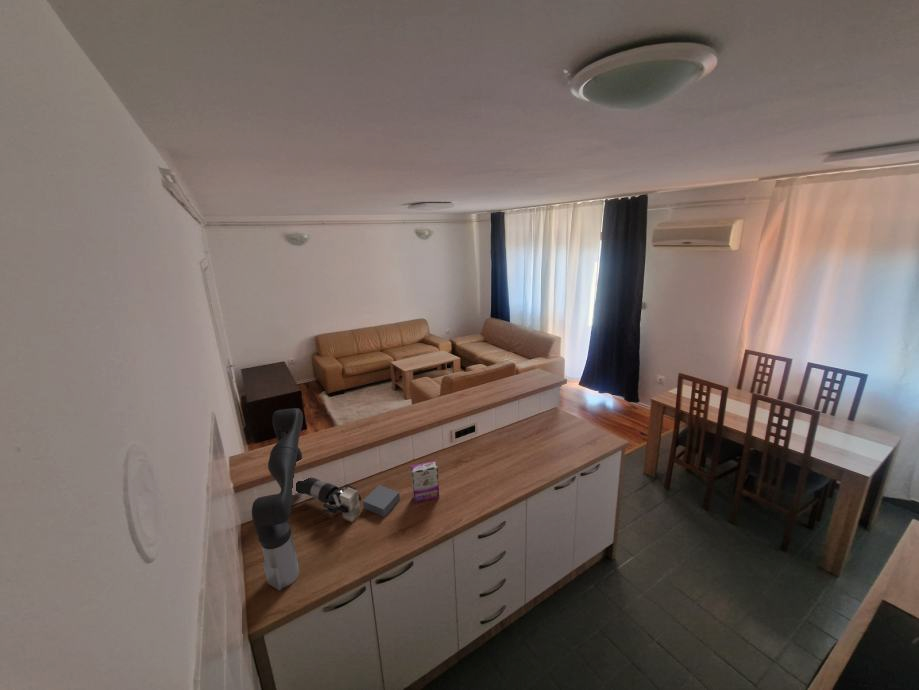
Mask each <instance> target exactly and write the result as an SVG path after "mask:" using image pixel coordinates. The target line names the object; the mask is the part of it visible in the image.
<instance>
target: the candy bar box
mask: <svg viewBox="0 0 919 690" xmlns="http://www.w3.org/2000/svg"><path fill="white" fill-rule="evenodd" d="M410 469H411V470H410V472H411V483H412V495H413V502H414V504H417V503H422V502H426V501H427V502H428V501H432V500H435V499H439V498H440V487H439V469H438V464H437V462H436V460H435V461H429V462H423V463H418V464H413V465H410Z"/></svg>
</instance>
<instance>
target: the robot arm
mask: <svg viewBox="0 0 919 690" xmlns="http://www.w3.org/2000/svg"><path fill="white" fill-rule="evenodd" d="M303 420H304V414H303V411H302V410H301V409H300V408H297V407H293V408H285V409H283V408H282V409H277V410H275V411H274V412H273V414H272V426H273V430H274V433H275V437H276V438H277V441H278V442H276V443H275V445H273V447H272V448H271V450H270V454H269V459H268V464H267V468H268V472H269V473H270V475H271V476H272V478H274V480H275V481H276V483H277V484H278V486H279V488H280V492H279V493H275V494H269V495H264V496H260V497H257V498H256V499H255V500H254V501H253V502H252V506H251V517H252V518H251V519H252V522H253V526H254V529H255V531H256V534H257V538H258V541H259V542H260V545H261V549H262V554H263V557H264V561H263V562H262V565H263V570H264V573H265V578H266V582H267V585H270V586H271V587H273V588H274V589H276V590H277V591H282V590H283V589H284V588H286V587H289V586H290V585H292V584H293V583H295V581H296V580H297V579H298V577H299V575H300V566H299V562H298V557H297V552H296V548H295V547H296V546H295V543H294V538H293V537H294V536H293V533H292V529H291V525H290V524H289V523H288V521H289V520H290V517H291V513H292V506H293V505H292V503H293V493H292V488H293V478H294V471H295V466H296V462H297V461H299V460H301V459H302V458H303V453H302V450H301V449H300V447H299V440H300V436H301V432H302V427H303V422H304V421H303ZM286 432H287V433H286ZM348 487H349V488H352V489H354V490H357V488H356V487H354V486H352V485H350V484H345V487H343V488H339V487H338V486H337V485H335V484H332V483H330V482H328V481H325V480H320V479H319V478H316V477H310V478H308V479H306V480H304V481H298V482H297V483H296V491H297V492H298V493H300V495H308V496H309V497H312V498H314V499H315V500H317V501H320V502H321V503H323V504H322V507H323V511H326V512H328V513H331V514H337V512H341V513H342V512H344V513H348V512H349V508H348V507H345V506H343V505H341V500H340V494H341V493H342V492H344V491H345V490H346V489H347V488H348ZM358 497H359V502H361V501H362V497H361V495H360V494H359V493H358Z"/></svg>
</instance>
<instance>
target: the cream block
mask: <svg viewBox="0 0 919 690" xmlns="http://www.w3.org/2000/svg"><path fill="white" fill-rule="evenodd" d="M358 494H359V491H358V490H357V489H356V490H354V489H352V488H349V487H348V488H347V489H346V490H345V491H344V492H342V493H341V494H340V500H341V503H340V506H341V505H343V506H345V507H348V508H349V512H348V513H344V512H341V513H342V519H343V518H344V519H343V520H345V521H347V522H350V521H351V523H354V522H355V521H356V520H357V518H359V516H360V515H361V506H360V501H359V497H358Z"/></svg>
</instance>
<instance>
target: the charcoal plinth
mask: <svg viewBox="0 0 919 690" xmlns="http://www.w3.org/2000/svg"><path fill="white" fill-rule="evenodd" d="M400 498H401V497H400V492H399V491H397V490H394V489H391V488H388V487H386V486H383V485H381V484H378V485H377V486H376V487H375V488H374V489H373V490H372V491H371V492H370V493H369V494H368V495H367V496H366V497H364V499H363V500H362V506H363V507H362V508H363V509H364V510H367V511H369V512H372V513H374V514H376V515H379V516H381V517H382V518H383V517H384V518H385V517H386V516H387V514H389V512H391V510H392V509H394V507H395V506H396V505H397V504H398V502H399V501H400Z"/></svg>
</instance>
